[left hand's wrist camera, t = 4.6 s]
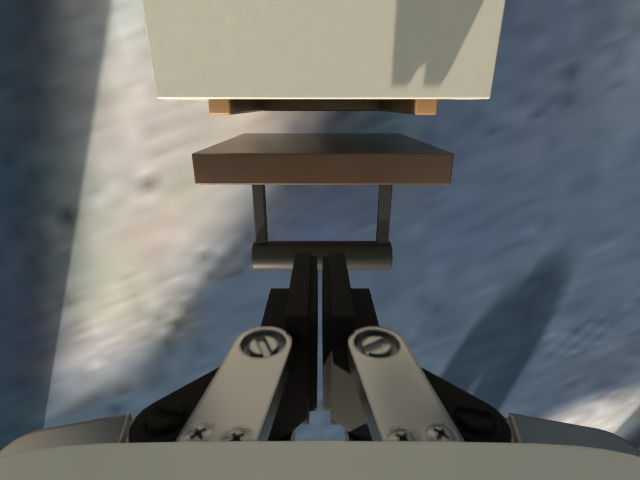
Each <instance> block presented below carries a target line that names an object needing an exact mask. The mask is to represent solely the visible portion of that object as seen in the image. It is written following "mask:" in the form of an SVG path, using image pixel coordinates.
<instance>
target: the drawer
mask: <svg viewBox="0 0 640 480" xmlns="http://www.w3.org/2000/svg"><path fill="white" fill-rule="evenodd" d="M208 102H209V111H210V114H212V115H231V114H240V113H248V112H257V111H387V112H396V113H406V114H415V115H435V114H436V112H437V103H438V99H208ZM453 159H454V154H453V153H451V152H448V151H445V150H442V149H440V148H437V147H434V146H432V145H429V144H426V143H423V142H421V141H418V140H415V139H413V138H410V137H407V136H405V135H402V134H242V135H239V136H237V137H234V138H232V139H229V140H226V141H224V142H221V143H219V144H216V145H213V146H211V147H208V148H206V149H203V150H201V151H198V152H195V153H193V154H192V160H193V168H194V176H195V183H196V184H197V185H252V191H253V206H254V220H255V235H256V241H254V243H253V246H252V266H253V269H254V270H293V264H294V258H295V252H311V256H317V261H318V270H322V261H323V256H329V252H345V258H346V264H347V270H390V269H391V266H392V246H391V243H390V241H388V237H389V223H390V210H391V196H392V185H449V184H450V182H451V174H452V167H453ZM265 185H379V199H378V216H377V232H376V241H267V240H268V233H267V216H266V198H265Z"/></svg>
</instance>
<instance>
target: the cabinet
mask: <svg viewBox="0 0 640 480" xmlns="http://www.w3.org/2000/svg"><path fill="white" fill-rule="evenodd" d="M142 5H143V12H144V18H145V25H146V31H147V38H148V44H149V51H150V58H151V64H152V71H153V77H154V84H155V90H156V97H157V98H158V99H178V100H208V99H438V100H467V99H489V98H490V95H491V89H492V82H493V76H494V70H495V64H496V57H497V51H498V45H499V38H500V32H501V26H502V19H503V13H504V7H505V0H142Z"/></svg>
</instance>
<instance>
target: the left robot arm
mask: <svg viewBox="0 0 640 480" xmlns="http://www.w3.org/2000/svg"><path fill="white" fill-rule="evenodd" d="M317 348H318V261H317V256H311V252H295V258H294V264H293V270H292V276H291V282H290V288H289V289H271V290H270V294H269V298H268V302H267V305H266V309H265V313H264V317H263V320H262V324H261V327H255V328H252V329H250V330H247V331H245V332H244V333H242V334H241V335H240V336H239V337H238V338H237V339H236V341H235V342H234V344H233V346H232V347H231V349H230V351H229V352H228V354H227V356H226V357H225V359H224V361H223V362H222V364H221V366H220V367H219V368H217V369H215V370H213V371H211V372H210V373H208V374H206V375H204V376H202V377H200V378H199V379H197V380H195V381H193V382H191V383H189V384H188V385H186V386H184V387H182V388H180V389H178V390H177V391H175V392H173V393H171V394H169V395H167V396H166V397H164V398H162V399H160V400H158V401H156V402H155V403H153V404H151V405H150V406H148V407H147V408H145V409H144V410H143V411H142V412H141V413H140V414H139V415H138V416H137V417H136V418H133V419H132V417H131V413H128V414H122V415H116V416H111V417H105V418H100V419H94V420H88V421H83V422H77V423H72V424H66V425H61V426H55V427H49V428H44V429H40V430H36V431H33V432H29V433H27V434H25V435H23V436H21V437H19V438H17V439H15V440H13V441H12V442H11V443H9V444H8V445H7V446H6V447H4V448H3V449H2V450H1V451H0V480H640V451H639V450H638V449H637V448H636V447H634V446H633V445H632V444H631V443H629V442H628V441H627V440H625V439H623V438H621V437H619V436H617V435H615V434H613V433H611V432H607V431H604V430H600V429H596V428H591V427H585V426H579V425H574V424H568V423H563V422H557V421H552V420H546V419H540V418H535V417H529V416H524V415H518V414H512V413H509V417H508V419H507V418H504V417H503V416H502V415H501V414H500V413H499V412H498V411H497V410H496V409H495V408H493V407H492V406H490V405H489V404H487V403H485V402H484V401H482V400H480V399H478V398H476V397H474V396H473V395H471V394H469V393H467V392H465V391H463V390H462V389H460V388H458V387H456V386H454V385H452V384H451V383H449V382H447V381H445V380H443V379H441V378H440V377H438V376H436V375H434V374H432V373H430V372H429V371H427V370H425V369H423V368H421V367H420V366H419V364H418V362H417V361H416V359H415V357H414V356H413V354H412V352H411V351H410V349H409V347H408V346H407V344H406V342H405V341H404V339H403V338H402V337H401V336H400V335H399V334H398V333H396V332H395V331H393V330H390V329H388V328H385V327H379V324H378V320H377V317H376V313H375V309H374V305H373V302H372V298H371V294H370V290H369V289H351V288H350V282H349V276H348V270H347V264H346V258H345V252H329V256H323V261H322V348H323V411H331V424H340V425H341V426H342V427H344V428H345V441H295V428H296V427H298V426H299V425H300V424H309V411H317Z"/></svg>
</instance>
